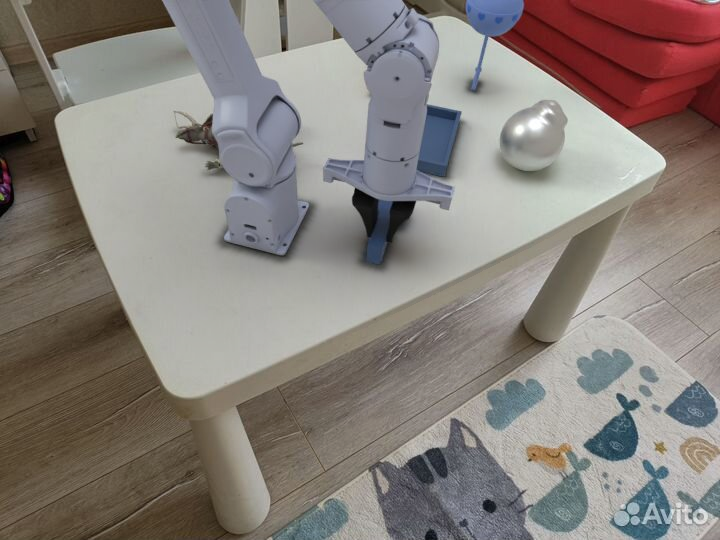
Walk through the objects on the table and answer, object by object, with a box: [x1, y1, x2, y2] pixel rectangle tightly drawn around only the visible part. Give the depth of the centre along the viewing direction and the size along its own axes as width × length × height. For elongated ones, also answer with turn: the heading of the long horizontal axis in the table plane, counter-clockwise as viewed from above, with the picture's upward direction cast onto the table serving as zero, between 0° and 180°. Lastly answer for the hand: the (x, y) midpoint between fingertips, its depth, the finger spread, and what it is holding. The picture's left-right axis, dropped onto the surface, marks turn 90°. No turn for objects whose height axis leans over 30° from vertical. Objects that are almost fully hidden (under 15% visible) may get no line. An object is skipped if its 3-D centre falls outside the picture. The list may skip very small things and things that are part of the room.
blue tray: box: [416, 103, 462, 178], centre depth 78 cm, size 14×10×2 cm
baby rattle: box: [464, 0, 525, 91], centre depth 83 cm, size 9×9×18 cm
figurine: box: [172, 110, 304, 171], centre depth 75 cm, size 20×6×17 cm
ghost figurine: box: [499, 99, 569, 172], centre depth 73 cm, size 9×10×10 cm
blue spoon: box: [365, 200, 405, 266], centre depth 65 cm, size 11×4×3 cm, turn 164°
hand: (381, 234), depth 64 cm, fingers closed on blue spoon, 2 cm apart
